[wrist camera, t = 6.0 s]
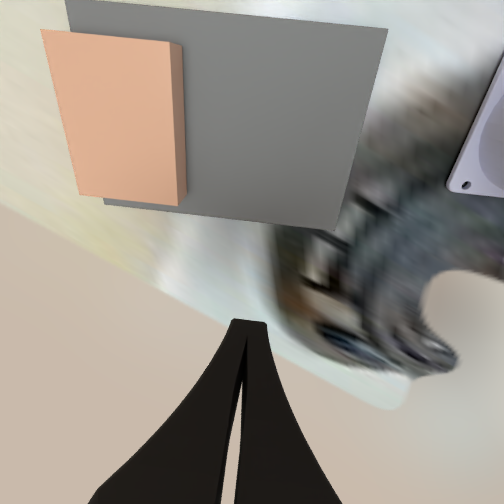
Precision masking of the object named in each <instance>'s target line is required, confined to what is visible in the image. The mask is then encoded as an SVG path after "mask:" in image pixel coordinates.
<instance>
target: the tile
mask: <svg viewBox="0 0 504 504" xmlns="http://www.w3.org/2000/svg"><path fill="white" fill-rule="evenodd" d="M40 30H41V34H42V39H43V43H44V47H45V51H46V55H47V60H48V64H49V68H50V72H51V77H52V81H53V85H54V89H55V93H56V98H57V102H58V106H59V110H60V114H61V119H62V123H63V127H64V131H65V135H66V140H67V144H68V148H69V152H70V156H71V161H72V165H73V169H74V173H75V177H76V182H77V186H78V190H79V194H80V195H85V196H94V197H102V198H111V199H120V200H128V201H137V202H146V203H155V204H163V205H172V206H178V205H179V204H180V203H181V201H182V200H183V199H184V198H185V196H186V195H187V181H186V151H185V121H184V90H183V60H182V46H181V45H178V44H174V43H171V42H164V41H155V40H145V39H135V38H125V37H115V36H105V35H95V34H85V33H75V32H65V31H55V30H45V29H40Z"/></svg>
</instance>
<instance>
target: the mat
mask: <svg viewBox="0 0 504 504" xmlns="http://www.w3.org/2000/svg"><path fill="white" fill-rule="evenodd" d="M65 4H66V10H67V15H68V20H69V25H70V30H71V32H75V33H85V34H95V35H105V36H115V37H125V38H135V39H145V40H155V41H164V42H171V43H174V44H178V45H181V46H182V60H183V90H184V121H185V151H186V181H187V195H186V196H185V198H184V199H183V200H182V201H181V203H180V204H179V205H178V206H172V205H163V204H155V203H146V202H137V201H128V200H120V199H111V198H103V200H104V204H105V205H114V206H123V207H131V208H140V209H149V210H157V211H166V212H175V213H183V214H192V215H201V216H210V217H218V218H227V219H236V220H244V221H253V222H262V223H271V224H279V225H288V226H297V227H305V228H314V229H323V230H331V231H335V228H336V224H337V220H338V216H339V213H340V209H341V205H342V201H343V198H344V194H345V190H346V186H347V183H348V179H349V175H350V172H351V168H352V164H353V160H354V157H355V153H356V149H357V145H358V142H359V138H360V134H361V130H362V127H363V123H364V119H365V115H366V112H367V108H368V104H369V100H370V97H371V93H372V89H373V85H374V82H375V78H376V74H377V70H378V67H379V63H380V59H381V55H382V52H383V48H384V44H385V40H386V37H387V33H388V29H385V28H374V27H364V26H354V25H344V24H333V23H323V22H313V21H303V20H292V19H282V18H272V17H261V16H251V15H241V14H231V13H220V12H210V11H200V10H190V9H179V8H169V7H159V6H148V5H138V4H128V3H118V2H107V1H97V0H65Z"/></svg>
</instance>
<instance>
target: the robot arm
mask: <svg viewBox="0 0 504 504" xmlns="http://www.w3.org/2000/svg"><path fill="white" fill-rule="evenodd" d="M466 181H468V183H467V185H466V186H465V187H462V184H463V183H464V182H466ZM446 187H447V188H448V189H449V190H450V191H452V192H457V193H466V194H475V195H484V196H493V197H502V198H504V56H503V59H502V61H501V63H500V65H499V67H498V70H497V72H496V74H495V76H494V79H493V81H492V83H491V85H490V87H489V90H488V92H487V94H486V96H485V99H484V101H483V103H482V105H481V107H480V110H479V112H478V114H477V116H476V118H475V121H474V123H473V125H472V127H471V130H470V132H469V134H468V136H467V138H466V141H465V143H464V145H463V147H462V149H461V152H460V154H459V156H458V158H457V161H456V163H455V165H454V167H453V169H452V172H451V174H450V176H449V178H448V180H447V183H446ZM241 384H242V409H241V412H242V413H241V439H240V440H241V441H240V454H239V462H238V463H239V464H238V471H237V480H236V489H235V499H234V504H342V502H341V501H340V499H339V498H338V496H337V494H336V493H335V491H334V489H333V488H332V486H331V484H330V483H329V481H328V479H327V478H326V476H325V474H324V472H323V471H322V469H321V467H320V465H319V464H318V462H317V460H316V458H315V456H314V454H313V452H312V450H311V449H310V447H309V445H308V443H307V441H306V439H305V437H304V435H303V433H302V431H301V429H300V427H299V425H298V423H297V421H296V418H295V416H294V414H293V412H292V409H291V407H290V405H289V402H288V400H287V397H286V395H285V392H284V390H283V387H282V384H281V381H280V379H279V376H278V373H277V369H276V366H275V363H274V360H273V356H272V352H271V348H270V343H269V338H268V332H267V324H266V323H265V322H259V321H251V320H243V319H235V318H234V319H233V320H231V323H230V326H229V328H228V330H227V333H226V335H225V337H224V339H223V341H222V343H221V345H220V346H219V348H218V350H217V352H216V353H215V355H214V357H213V358H212V360H211V362H210V363H209V365H208V366H207V368H206V369H205V371H204V372H203V374H202V375H201V377H200V378H199V380H198V381H197V383H196V384H195V385H194V387H193V388H192V389H191V391H190V392H189V393H188V395H187V396H186V397H185V399H184V400H183V401H182V402H181V404H180V405H179V406H178V407H177V408H176V410H175V411H174V412H173V413H172V414H171V416H170V417H169V418H168V419H167V420H166V421H165V422H164V424H163V425H162V426H161V427H160V428H159V429H158V430H157V431H156V432H155V433H154V435H152V436H151V437H150V439H149V440H148V441H147V442H146V443H145V444H144V445H143V446H142V447H141V448H140V449H139V450H138V451H137V452H136V453H135V454H134V455H133V456H132V457H131V458H130V459H129V460H128V461H127V462H126V463H125V464H124V465H123V466H121V467H120V468H119V469H118V470H117V471H116V472H115V473H114V474H113V475H112V476H111V477H110V478H109V479H108V480H106V481H105V482H104V483H103V484H102V485H101V486H100V487H99V488H98V489H97V490H96V492H95V493H94V495H93V497H92V498H91V499H90V501H89V503H88V504H221V497H222V490H223V482H224V475H225V466H226V459H227V452H228V446H229V440H230V435H231V431H232V426H233V421H234V417H235V412H236V407H237V402H238V398H239V393H240V388H241Z"/></svg>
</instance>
